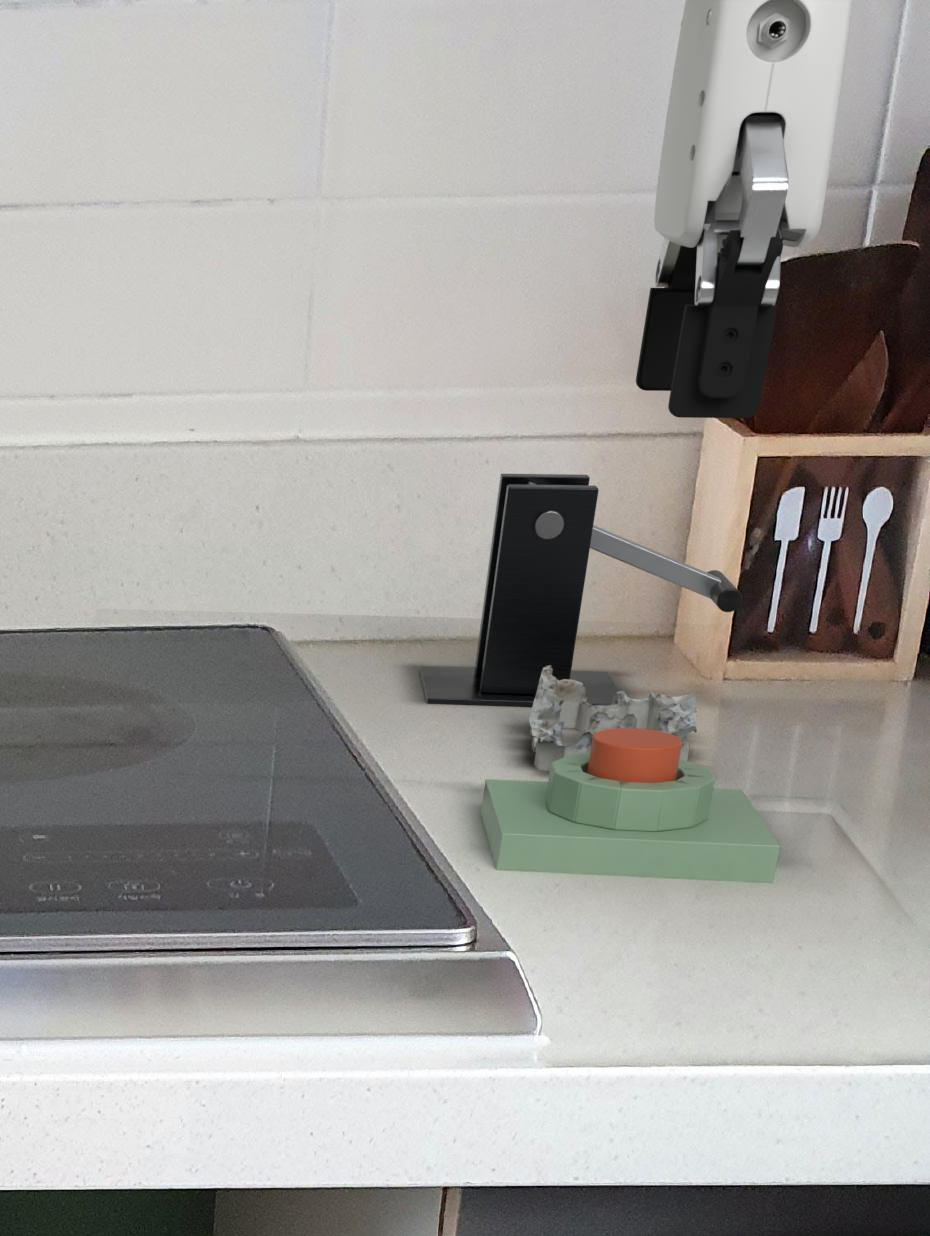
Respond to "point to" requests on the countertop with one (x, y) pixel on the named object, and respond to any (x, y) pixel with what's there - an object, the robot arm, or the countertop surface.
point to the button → (634, 755)
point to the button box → (627, 826)
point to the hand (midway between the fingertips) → (692, 402)
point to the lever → (667, 568)
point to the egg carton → (600, 717)
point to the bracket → (529, 597)
